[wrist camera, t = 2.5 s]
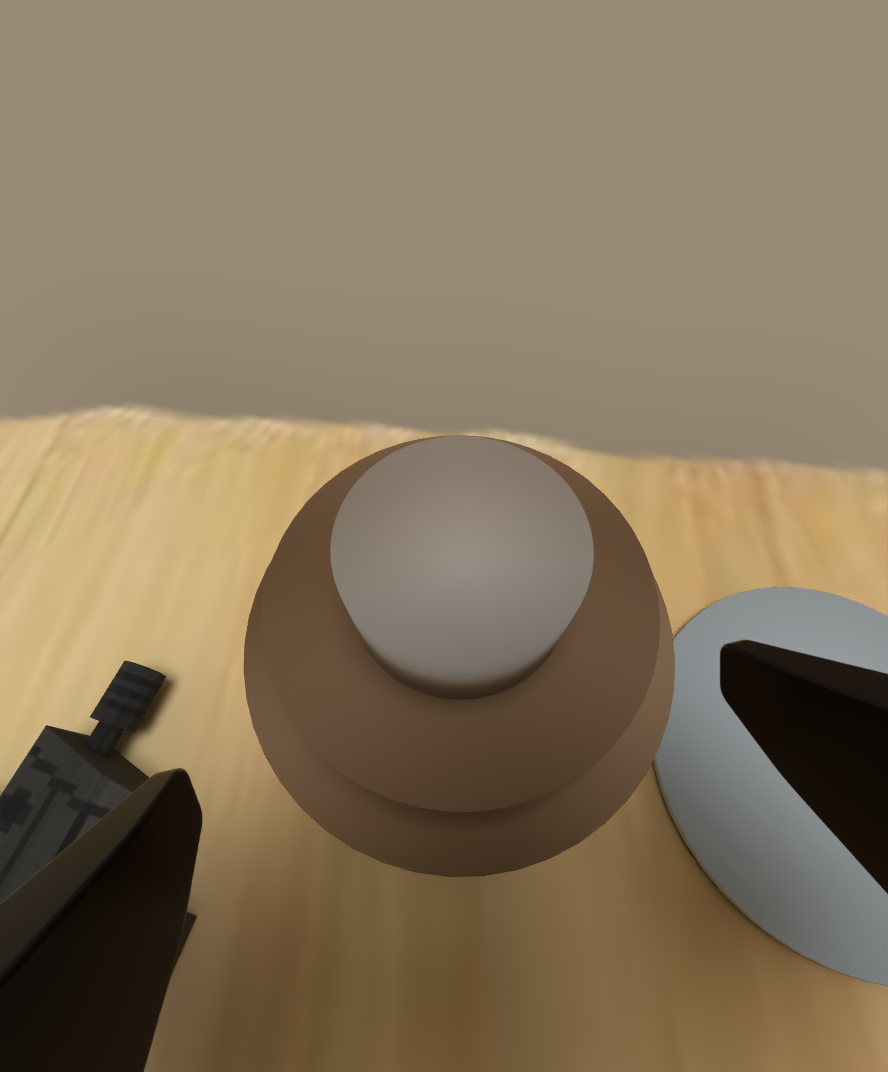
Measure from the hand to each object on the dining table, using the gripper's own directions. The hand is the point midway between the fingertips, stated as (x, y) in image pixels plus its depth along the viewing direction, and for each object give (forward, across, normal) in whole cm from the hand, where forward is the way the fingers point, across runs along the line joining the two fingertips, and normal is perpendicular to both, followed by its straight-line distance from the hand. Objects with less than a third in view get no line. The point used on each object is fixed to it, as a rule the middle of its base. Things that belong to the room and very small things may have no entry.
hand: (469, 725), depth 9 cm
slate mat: (+5, -11, +8) cm, 14 cm away
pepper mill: (+7, 0, +6) cm, 9 cm away
